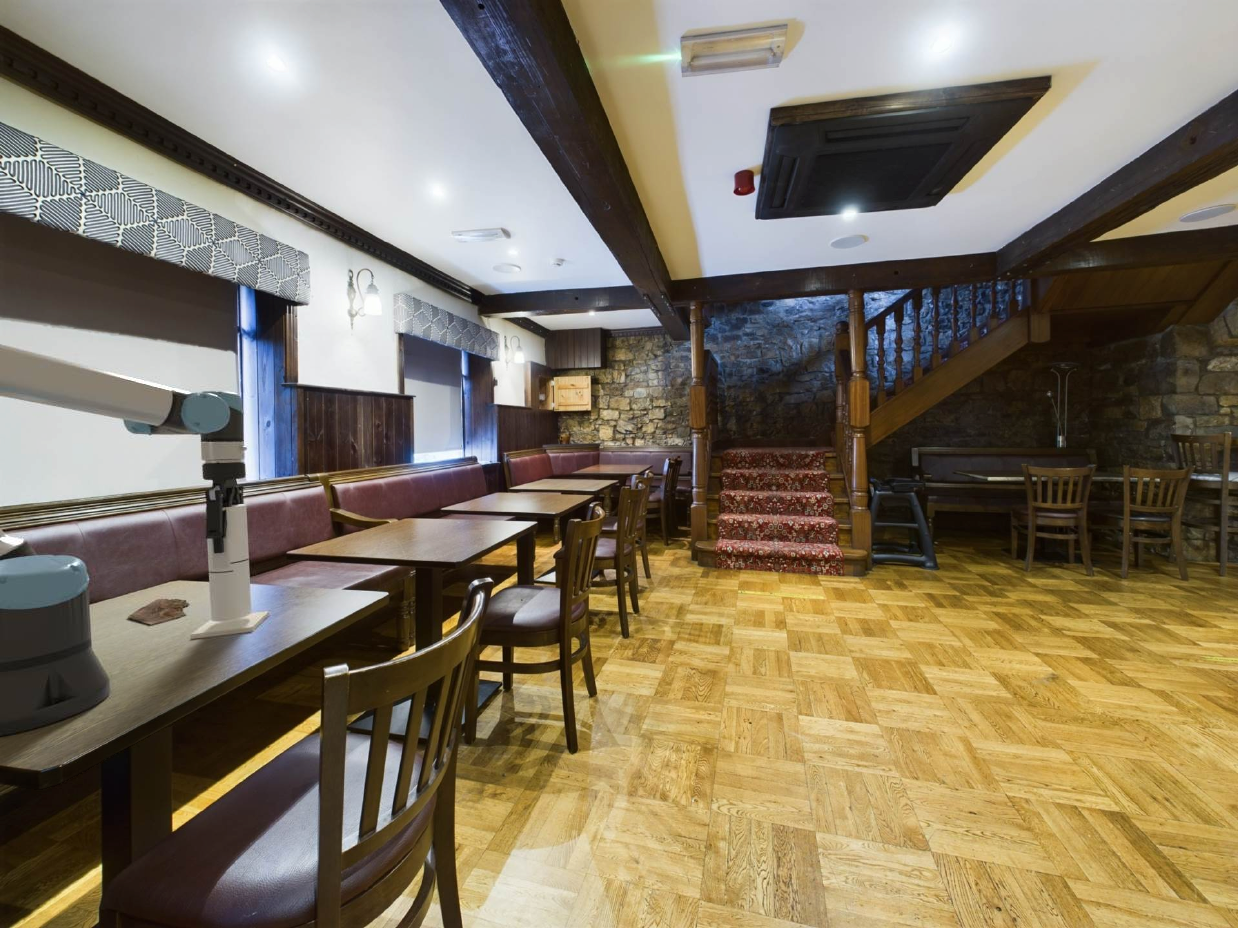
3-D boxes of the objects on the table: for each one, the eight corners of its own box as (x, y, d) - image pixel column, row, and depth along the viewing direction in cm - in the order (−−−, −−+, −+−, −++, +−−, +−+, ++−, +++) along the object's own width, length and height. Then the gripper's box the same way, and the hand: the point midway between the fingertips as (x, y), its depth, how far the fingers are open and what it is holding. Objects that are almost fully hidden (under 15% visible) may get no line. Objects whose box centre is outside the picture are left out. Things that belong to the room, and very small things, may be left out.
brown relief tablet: (185, 621, 116) (184, 616, 116) (119, 632, 110) (119, 628, 110) (192, 595, 137) (191, 591, 137) (137, 604, 130) (136, 600, 130)
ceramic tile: (252, 631, 108) (252, 626, 108) (190, 638, 105) (190, 634, 105) (269, 615, 119) (269, 611, 119) (213, 621, 115) (213, 617, 115)
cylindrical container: (257, 613, 113) (251, 505, 111) (219, 623, 107) (213, 508, 105) (243, 608, 116) (238, 503, 115) (205, 617, 110) (200, 506, 109)
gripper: (225, 462, 102) (230, 572, 103) (259, 459, 121) (264, 552, 122) (180, 463, 99) (186, 576, 100) (222, 460, 118) (227, 555, 119)
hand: (229, 563), depth 111 cm, fingers closed on cylindrical container, 7 cm apart
